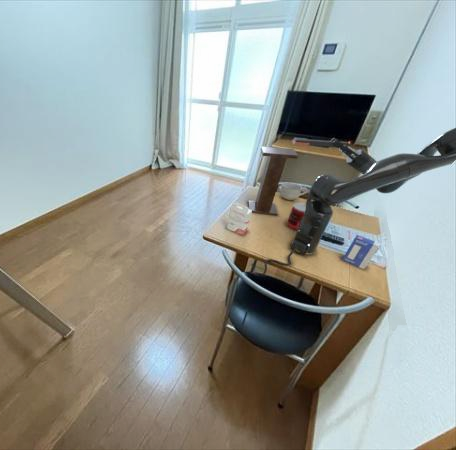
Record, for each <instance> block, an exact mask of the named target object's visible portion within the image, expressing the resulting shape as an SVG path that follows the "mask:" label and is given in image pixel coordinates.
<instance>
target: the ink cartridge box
mask: <svg viewBox="0 0 456 450" xmlns="http://www.w3.org/2000/svg"><path fill="white" fill-rule="evenodd" d="M251 218H252V210H250V209H249V206H246V205H243V204H240V203H238V202H235V201H232V202H231V206H230V211H229V215H228V220H227V224H226V229H227V230H230V231H232V232H234V233H237V234H238V235H241V236H243V235H244V234H246V233H247V232H248V228H249V225H250V221H251Z"/></svg>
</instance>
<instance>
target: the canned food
mask: <svg viewBox="0 0 456 450" xmlns="http://www.w3.org/2000/svg"><path fill="white" fill-rule="evenodd" d="M305 210H306V203H304V202H296V203H293V205H292V208H291V210H290V213H289V216H288V219H287V220H286V226H287V227H288V228H290V229H292V230H295V231H297V229H298V227H299V224H300V222H301V220H302V217H303V215H304V212H305Z"/></svg>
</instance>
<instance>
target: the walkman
mask: <svg viewBox="0 0 456 450" xmlns="http://www.w3.org/2000/svg"><path fill="white" fill-rule="evenodd" d="M381 245H382V243H381V242H378V241H376V240H373V239H370V238H366V237H364V236H361V235H359V234H356V235H355V237H354V238H353V240H352V241H351V244H350V245H349V247H348V249H347V250H346V252H345V253H344V256H343V257H342V259H341V261H344V262H346V263H348V264H350V265H352V266H355V267H357V268H360V269H362V270H365V269H366V267H367V266H368V264H370V261H371V260H372V259H373V257H374V256H375V254H377V252H378V251H379V249H380V247H381Z"/></svg>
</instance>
